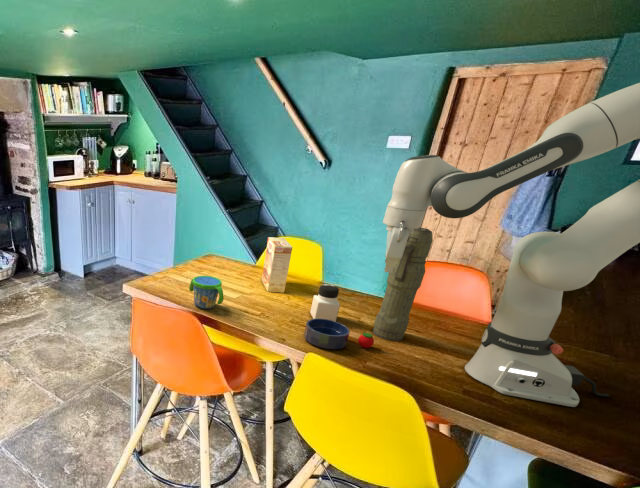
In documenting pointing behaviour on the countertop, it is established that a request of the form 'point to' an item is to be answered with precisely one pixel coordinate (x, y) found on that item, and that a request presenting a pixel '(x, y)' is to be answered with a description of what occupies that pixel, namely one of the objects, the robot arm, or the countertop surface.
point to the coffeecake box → (276, 264)
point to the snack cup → (206, 291)
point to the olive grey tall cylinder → (403, 286)
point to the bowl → (326, 333)
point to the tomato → (366, 340)
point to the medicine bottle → (325, 303)
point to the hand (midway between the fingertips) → (387, 267)
